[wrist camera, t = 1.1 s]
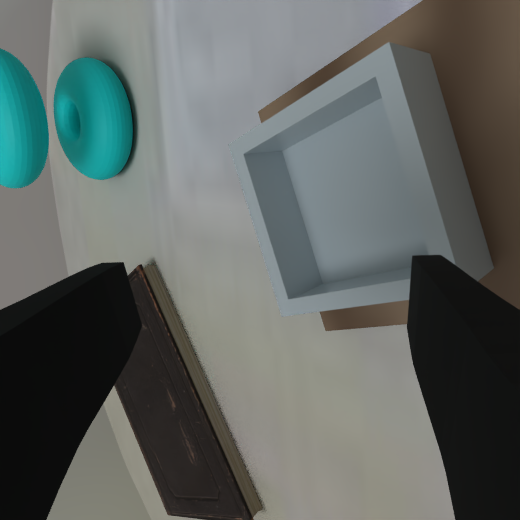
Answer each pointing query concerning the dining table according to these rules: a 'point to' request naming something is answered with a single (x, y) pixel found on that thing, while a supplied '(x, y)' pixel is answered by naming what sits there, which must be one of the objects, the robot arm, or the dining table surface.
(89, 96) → the donuts
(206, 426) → the hardcover book
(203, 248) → the dining table surface
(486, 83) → the brown rectangular board
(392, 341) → the dining table surface
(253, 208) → the pale grey open tray
